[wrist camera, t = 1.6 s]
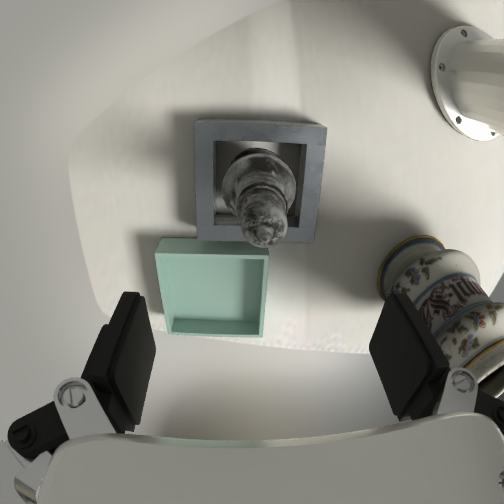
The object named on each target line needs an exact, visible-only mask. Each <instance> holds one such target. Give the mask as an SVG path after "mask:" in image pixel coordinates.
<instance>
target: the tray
mask: <svg viewBox="0 0 504 504" xmlns="http://www.w3.org/2000/svg"><path fill="white" fill-rule="evenodd" d="M155 260H156V267H157V274H158V280H159V286H160V292H161V298H162V304H163V310H164V315H165V320H166V326H167V331H168V334H172V335H189V336H213V337H263V325H264V313H265V301H266V289H267V276H268V263H269V251H268V247H267V248H261V247H257V246H254V245H252V244H251V243H249V242H246V241H197V238H162V239H161V241H160V243H159V245H158V247H157V249H156V251H155Z"/></svg>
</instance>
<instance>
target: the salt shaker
mask: <svg viewBox="0 0 504 504" xmlns="http://www.w3.org/2000/svg"><path fill="white" fill-rule="evenodd" d="M295 194H296V181H295V178H294V175H293V173H292V171H291V170H290V168H289V167H288V165H287V164H285V163H284V162H283V161H282V160H281V159H280V158H279V157H278V156H277V155H276V154H274V153H273V152H271V151H268V150H266V149H260V148H256V149H249V150H247V151H244V152H242V153H241V154H239V155H238V156H237V157H236V158H235V159H234V160H233V161H232V163H231V165H230V167H229V169H228V170H227V171H226V174H225V176H224V178H223V183H222V195H223V199H224V201H225V204H226V206H227V207H228V209H229V210H230V211H231V212H232V213H233V214H234V215H235V216H237V217H238V219H239V221H240V226H241V231H242V233H243V235H244V237H245V239H246V240H247V241H248V242H249V243H251V244H252V245H254V246H257V247H261V248H267V247H272V246H275V245H276V244H278V243H280V242H281V240H282V239H283V238H284V236H285V235H286V231H287V227H288V224H287V218H286V216H287V212H288V209H289V208H290V207H291V205H292V203H293V201H294V198H295Z"/></svg>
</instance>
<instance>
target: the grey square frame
mask: <svg viewBox="0 0 504 504" xmlns="http://www.w3.org/2000/svg"><path fill="white" fill-rule="evenodd" d="M326 135H327V127H325V126H323V125H321V124H314V123H303V122H290V121H274V120H251V119H198V120H197V121H195V122H194V159H195V196H196V221H197V241H246V242H248V241H247V240H246V239H245V237H244V235H243V233H242V231H241V226H240V221H239V219H238V217H237V216H235V215H234V214H216V141H262V142H283V143H298V144H301V155H300V167H299V178H298V188H297V199H296V209H295V216H286V218H287V224H288V227H287V231H286V235H285V236H284V238H283V239H282V240H281V242H291V243H313V242H314V235H315V228H316V221H317V213H318V206H319V198H320V190H321V182H322V173H323V164H324V155H325V145H326Z"/></svg>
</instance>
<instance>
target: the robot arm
mask: <svg viewBox="0 0 504 504" xmlns="http://www.w3.org/2000/svg"><path fill="white" fill-rule="evenodd" d="M431 81H432V86H433V92H434V94H435V97H436V101H437V103H438V105H439V107H440V110H441V112H442V114H443V115H444V117H445V118H446V119H447V121H448V122H449V123H450V125H451V126H452V127H453V128H454V129H455V130H456V131H458V132H459V133H461V134H462V135H464V136H466V137H468V138H471V139H474V140H477V141H488V140H492V139H494V138H496V137H498V136H499V135H500V134H501V135H504V39H493V38H492V37H491V36H490V35H488V34H487V33H485V32H484V31H482V30H480V29H478V28H476V27H471V26H458V27H454V28H450V29H449V30H447V31H446V32H444V33H443V34H442V35H441V37H440V38H439V39H438V41H437V43H436V45H435V47H434V50H433V54H432V58H431ZM369 351H370V354H371V356H372V358H373V361H374V364H375V366H376V369H377V371H378V374H379V376H380V379H381V381H382V384H383V387H384V389H385V392H386V395H387V397H388V400H389V403H390V406H391V408H392V411H393V413H394V415H396V416H397V417H398V419H399V422H401V421H406V420H409V419H411V420H412V421H407V422H403V423H398V424H394V425H389V426H384V427H378V428H373V429H368V430H362V431H356V432H349V433H343V434H335V435H327V436H318V437H308V438H297V439H281V440H258V441H218V440H195V439H194V440H193V439H178V438H165V437H154V436H145V435H133V434H125V430H126V431H132V432H134V429H135V425H139V424H140V421H141V416H142V410H143V406H144V401H145V397H146V392H147V388H148V383H149V379H150V374H151V370H152V366H153V362H154V358H155V353H156V346H155V342H154V338H153V333H152V329H151V325H150V321H149V316H148V312H147V307H146V302H145V298H144V296H140V294H139V292H123V294H122V296H121V298H120V300H119V302H118V304H117V307H116V309H115V311H114V313H113V316H112V318H111V320H110V322H109V325H108V324H105V325H103V327H102V329H101V331H100V333H99V335H98V338H97V340H96V342H95V344H94V347H93V349H92V352H91V354H90V356H89V358H88V361H87V363H86V366H85V368H84V371H83V373H82V376H81V378H69V379H66V380H64V381H62V382H61V383H60V384H59V385H58V386H57V388H56V389H55V392H54V401H52V402H51V403H49V404H47V405H45V406H43V407H41V408H39V409H37V410H35V411H33V412H31V413H29V414H27V415H25V416H23V417H21V418H19V419H18V420H16V421H15V422H13V423H12V425H11V426H10V428H9V430H8V440H7V441H5V442H4V441H3V440H2V441H1V442H0V504H504V402H503V401H501V400H499V399H497V398H495V397H493V396H491V395H489V394H487V393H485V392H483V391H481V390H479V389H478V382H477V379H476V377H475V376H474V374H473V373H472V372H470V371H469V370H467V369H465V368H462V367H456V368H453V369H452V370H451V369H450V368H449V365H450V363H449V362H448V360H447V358H446V356H445V355H444V353H443V351H442V349H441V348H440V346H439V344H438V343H437V341H436V339H435V338H434V336H433V334H432V333H431V331H430V329H429V328H428V326H427V324H426V323H425V321H424V320H423V318H422V317H421V315H420V313H419V312H418V310H417V309H416V307H415V306H414V304H413V302H412V301H411V299H410V298H409V296H408V295H407V294H406V293H405V292H395V293H391V294H390V296H388V297H387V298H386V300H385V303H384V306H383V309H382V312H381V315H380V317H379V320H378V323H377V325H376V328H375V331H374V333H373V336H372V338H371V341H370V344H369ZM42 479H43V480H42ZM39 485H41V487H40V491H39V495H38V500H37V501H36V497H35V495H36V490H37V489H38V487H39Z"/></svg>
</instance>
